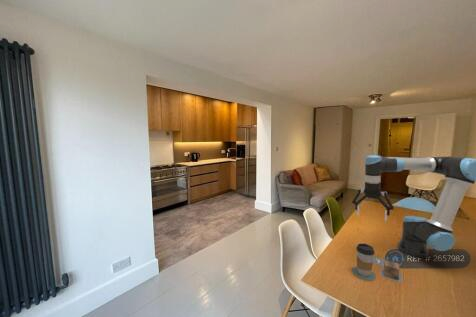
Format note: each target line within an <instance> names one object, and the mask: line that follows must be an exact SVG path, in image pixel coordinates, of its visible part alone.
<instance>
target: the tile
mask: <svg viewBox="0 0 476 317" xmlns="http://www.w3.org/2000/svg"><path fill="white" fill-rule="evenodd" d="M385 260H386V259H384V258H381V257H377V256H375V255H374V257H373V265H377V266H379V267H382V268H384V261H385Z"/></svg>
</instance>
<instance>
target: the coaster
mask: <svg viewBox="0 0 476 317" xmlns="http://www.w3.org/2000/svg"><path fill="white" fill-rule="evenodd" d="M351 272H352V274H353V275H354V276H355V277H356V278H358V279H361V280H362V281H366V282H367V281H369V282H373V281H375V280H376V279H377V277H376V274H375V273H374V272H373V271H372V270H371V275H370V276H369V277H365V276H362V275H360V274H359V273H358V271H357V266H354V267H353V268H352V269H351Z"/></svg>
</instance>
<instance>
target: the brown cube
mask: <svg viewBox="0 0 476 317" xmlns="http://www.w3.org/2000/svg"><path fill="white" fill-rule="evenodd" d="M384 260H385V261H384V264H383V268H384V276H386V277H389V278H393V279H396V280H399V274H400V265H399V263H398V262H395V261H394V262H393V261H390V260H388V259H384Z"/></svg>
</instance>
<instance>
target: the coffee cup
mask: <svg viewBox="0 0 476 317" xmlns="http://www.w3.org/2000/svg"><path fill="white" fill-rule="evenodd" d="M355 250H356V267H357V271H358V273H359V274H360V275H362V276H365V277H369V276H370V275H371V271H372V270H373V265H374V264H373V257H374V256H375V250H374V247H373V246H371V245H370V244H367V243H361V242H360V243H358V244H357V246H356V248H355Z"/></svg>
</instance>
